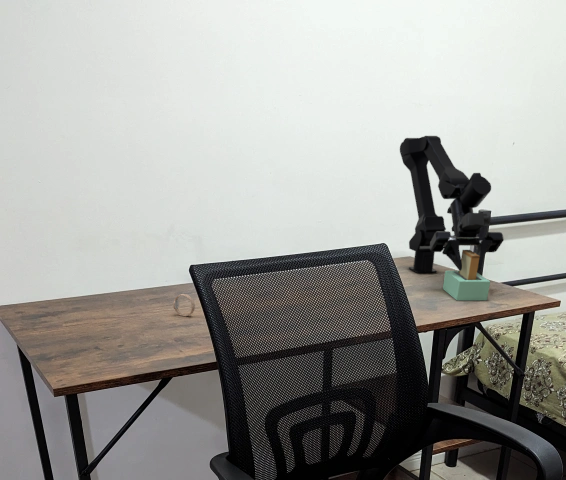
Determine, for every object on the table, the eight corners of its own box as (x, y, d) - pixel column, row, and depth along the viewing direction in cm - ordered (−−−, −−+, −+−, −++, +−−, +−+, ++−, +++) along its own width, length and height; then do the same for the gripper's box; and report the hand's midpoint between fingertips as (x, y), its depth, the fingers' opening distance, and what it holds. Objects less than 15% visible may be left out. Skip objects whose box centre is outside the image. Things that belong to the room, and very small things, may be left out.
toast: (456, 289, 199) (462, 249, 193) (463, 289, 199) (469, 249, 193) (465, 296, 192) (472, 255, 187) (473, 296, 192) (479, 255, 187)
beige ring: (178, 313, 172) (177, 292, 170) (196, 315, 171) (195, 294, 168) (173, 316, 170) (172, 294, 168) (191, 318, 169) (190, 297, 166)
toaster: (442, 288, 200) (445, 269, 198) (475, 288, 201) (478, 269, 199) (456, 300, 190) (459, 280, 187) (491, 300, 191) (494, 280, 189)
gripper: (439, 198, 186) (446, 251, 182) (508, 199, 188) (516, 252, 184) (426, 225, 197) (432, 276, 193) (491, 226, 199) (499, 276, 195)
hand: (470, 269), depth 191 cm, fingers open, 5 cm apart
